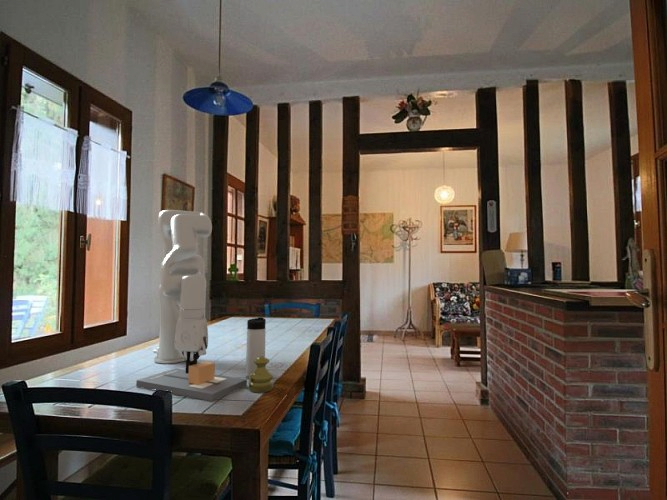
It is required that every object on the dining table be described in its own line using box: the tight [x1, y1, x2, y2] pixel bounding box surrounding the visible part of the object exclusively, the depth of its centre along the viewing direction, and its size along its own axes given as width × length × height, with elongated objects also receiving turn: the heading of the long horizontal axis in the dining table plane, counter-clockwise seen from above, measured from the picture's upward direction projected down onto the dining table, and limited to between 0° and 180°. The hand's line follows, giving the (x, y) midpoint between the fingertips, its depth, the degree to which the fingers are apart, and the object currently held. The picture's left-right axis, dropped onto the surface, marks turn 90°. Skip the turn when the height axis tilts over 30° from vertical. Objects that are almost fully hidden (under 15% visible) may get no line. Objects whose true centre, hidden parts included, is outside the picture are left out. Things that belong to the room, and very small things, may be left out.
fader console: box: [135, 368, 248, 402], centre depth 122 cm, size 30×16×2 cm, turn 66°
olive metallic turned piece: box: [248, 356, 274, 394], centre depth 120 cm, size 7×7×10 cm
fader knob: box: [188, 360, 216, 385], centre depth 121 cm, size 4×7×5 cm, turn 156°
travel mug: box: [245, 317, 267, 380], centre depth 133 cm, size 6×7×20 cm
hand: (191, 372), depth 122 cm, fingers closed
